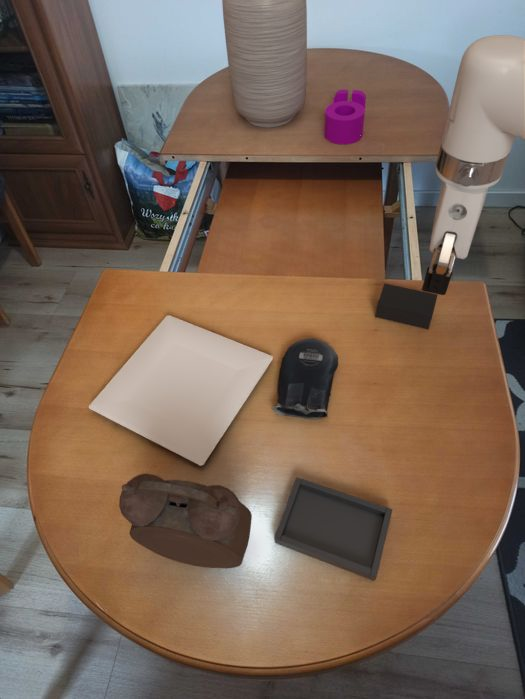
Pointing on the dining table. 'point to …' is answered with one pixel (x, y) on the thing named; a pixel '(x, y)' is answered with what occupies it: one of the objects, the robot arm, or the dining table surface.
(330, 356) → the electronic device
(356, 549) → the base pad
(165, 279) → the dining table surface
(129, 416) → the plate
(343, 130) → the magenta ring with prongs
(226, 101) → the dining table surface
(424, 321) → the black rectangular block
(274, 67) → the vase
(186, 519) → the alarm clock
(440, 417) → the dining table surface
